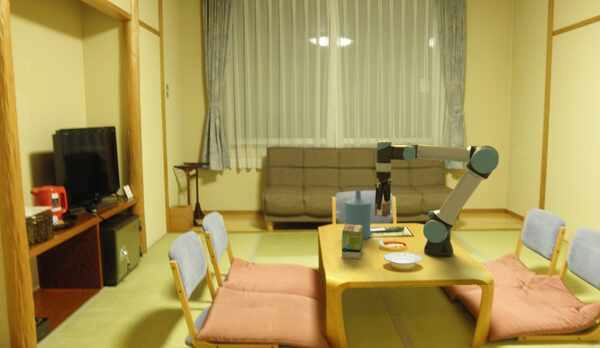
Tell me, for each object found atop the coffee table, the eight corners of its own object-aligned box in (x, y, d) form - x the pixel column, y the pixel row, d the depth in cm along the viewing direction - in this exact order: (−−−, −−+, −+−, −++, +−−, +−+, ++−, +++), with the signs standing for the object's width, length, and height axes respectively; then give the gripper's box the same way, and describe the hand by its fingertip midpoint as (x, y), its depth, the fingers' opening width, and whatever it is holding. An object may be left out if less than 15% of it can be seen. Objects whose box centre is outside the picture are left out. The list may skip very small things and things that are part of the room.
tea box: (360, 259, 252) (361, 231, 250) (341, 258, 254) (341, 230, 252) (362, 250, 266) (363, 224, 264) (344, 249, 268) (344, 223, 266)
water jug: (368, 240, 286) (369, 193, 282) (342, 238, 290) (342, 192, 286) (372, 233, 301) (372, 188, 297) (346, 232, 305) (347, 187, 301)
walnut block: (390, 214, 258) (390, 201, 256) (385, 216, 253) (385, 203, 251) (379, 213, 261) (380, 200, 260) (374, 215, 256) (374, 202, 255)
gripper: (385, 168, 263) (384, 210, 266) (368, 172, 248) (367, 216, 251) (398, 169, 259) (396, 211, 262) (381, 173, 243) (380, 218, 247)
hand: (382, 214), depth 257 cm, fingers closed on walnut block, 6 cm apart
